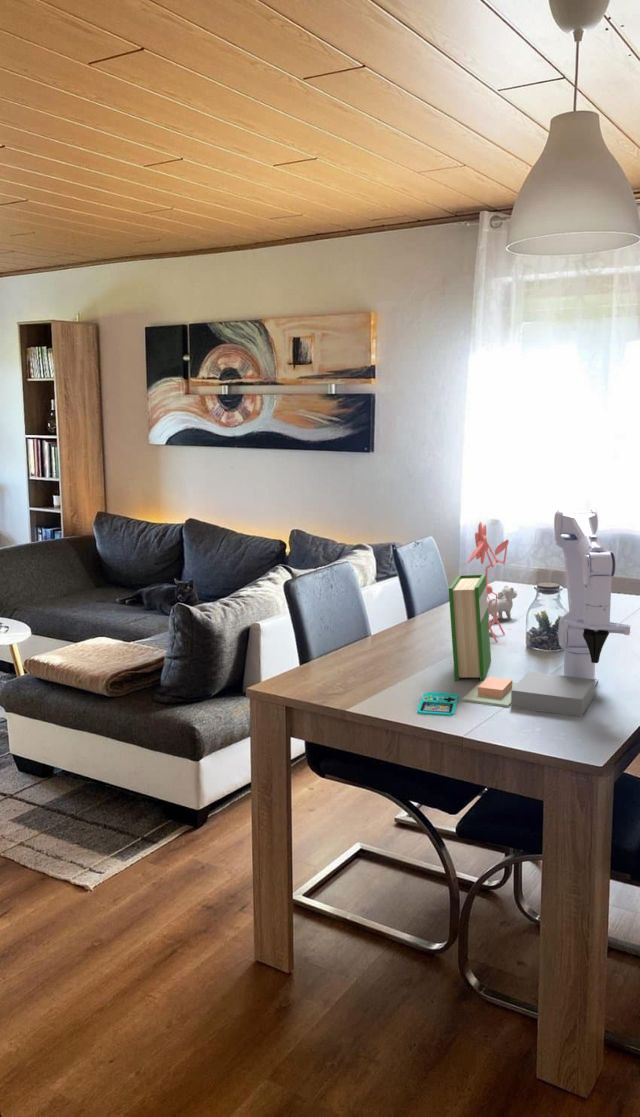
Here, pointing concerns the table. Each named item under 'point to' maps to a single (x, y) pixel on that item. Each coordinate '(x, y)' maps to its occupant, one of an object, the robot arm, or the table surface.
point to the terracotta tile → (495, 687)
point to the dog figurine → (503, 602)
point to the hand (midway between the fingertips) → (595, 661)
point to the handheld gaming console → (438, 703)
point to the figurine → (480, 551)
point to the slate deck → (553, 693)
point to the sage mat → (476, 698)
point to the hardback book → (470, 626)
